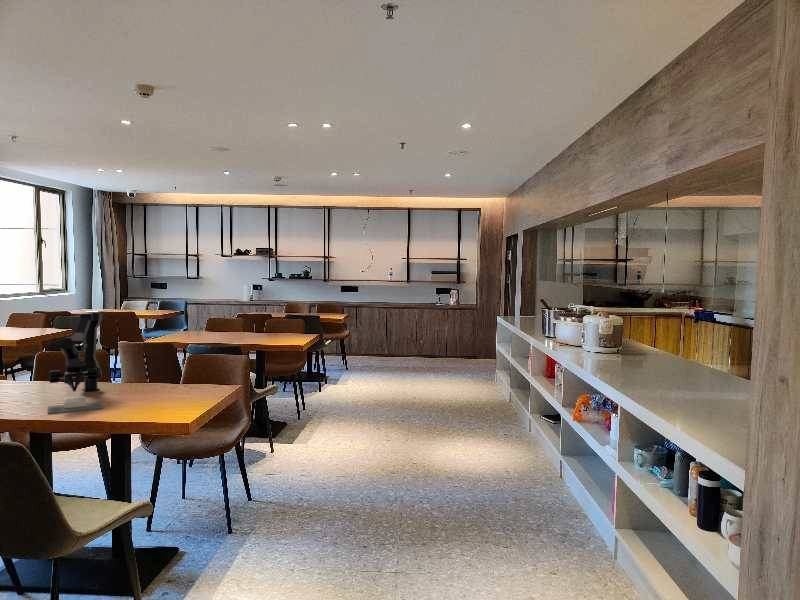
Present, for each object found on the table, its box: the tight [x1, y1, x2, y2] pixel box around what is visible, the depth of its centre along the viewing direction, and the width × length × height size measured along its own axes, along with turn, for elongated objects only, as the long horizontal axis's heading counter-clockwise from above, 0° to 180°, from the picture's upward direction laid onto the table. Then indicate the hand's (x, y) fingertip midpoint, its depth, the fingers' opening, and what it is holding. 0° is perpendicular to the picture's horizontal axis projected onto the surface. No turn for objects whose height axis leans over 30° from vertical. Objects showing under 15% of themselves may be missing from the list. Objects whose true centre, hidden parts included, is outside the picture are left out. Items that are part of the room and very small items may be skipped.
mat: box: [47, 401, 103, 415], centre depth 248 cm, size 13×20×1 cm, turn 122°
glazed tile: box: [63, 396, 87, 409], centre depth 251 cm, size 3×8×10 cm
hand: (74, 391), depth 252 cm, fingers closed
